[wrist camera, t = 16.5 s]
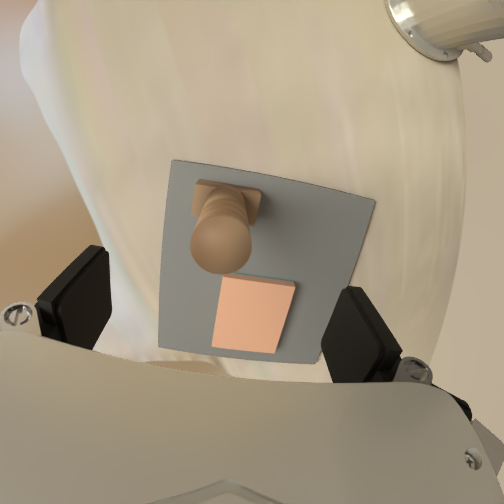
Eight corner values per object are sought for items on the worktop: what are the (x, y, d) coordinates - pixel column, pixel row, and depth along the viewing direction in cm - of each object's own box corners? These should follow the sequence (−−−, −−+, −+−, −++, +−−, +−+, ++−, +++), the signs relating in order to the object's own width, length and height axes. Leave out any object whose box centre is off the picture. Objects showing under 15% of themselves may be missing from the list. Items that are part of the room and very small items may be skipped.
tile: (295, 287, 31) (274, 353, 35) (293, 280, 33) (273, 345, 37) (222, 276, 30) (211, 346, 34) (223, 270, 32) (212, 339, 35)
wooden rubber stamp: (259, 186, 28) (278, 226, 16) (252, 219, 30) (265, 281, 18) (199, 176, 28) (173, 209, 16) (194, 210, 29) (167, 266, 17)
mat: (373, 199, 30) (375, 200, 30) (314, 361, 39) (314, 364, 39) (173, 159, 27) (171, 160, 27) (159, 344, 36) (158, 347, 36)
